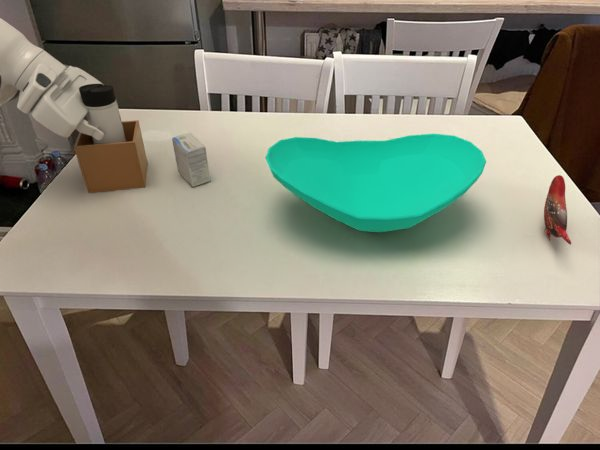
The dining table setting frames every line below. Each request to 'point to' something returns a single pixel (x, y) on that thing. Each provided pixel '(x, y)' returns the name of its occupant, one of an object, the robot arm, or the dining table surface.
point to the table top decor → (377, 177)
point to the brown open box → (113, 161)
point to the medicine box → (191, 159)
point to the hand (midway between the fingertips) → (109, 126)
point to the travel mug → (103, 112)
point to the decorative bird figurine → (556, 210)
